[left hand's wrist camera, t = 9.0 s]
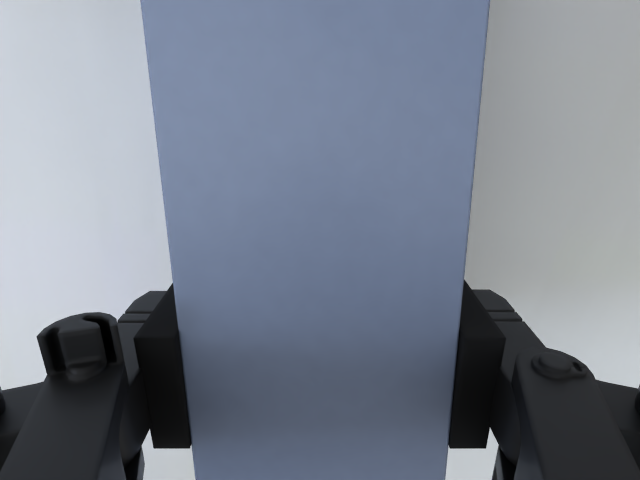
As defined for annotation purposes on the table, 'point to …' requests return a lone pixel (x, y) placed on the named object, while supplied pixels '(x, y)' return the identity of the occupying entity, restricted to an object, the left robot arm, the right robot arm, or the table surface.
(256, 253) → the blue-grey rectangular block
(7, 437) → the left robot arm
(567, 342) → the table surface
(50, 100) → the table surface
